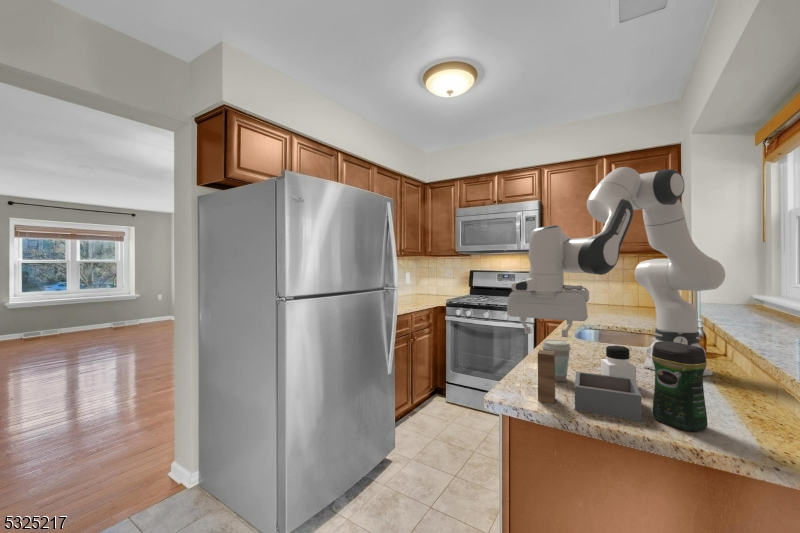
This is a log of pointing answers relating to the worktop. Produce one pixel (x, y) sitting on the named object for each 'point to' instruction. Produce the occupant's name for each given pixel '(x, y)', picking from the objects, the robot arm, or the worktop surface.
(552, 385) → the peg
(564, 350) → the coffee cup
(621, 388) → the box
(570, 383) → the worktop surface
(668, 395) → the coffee jar
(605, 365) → the medicine bottle
